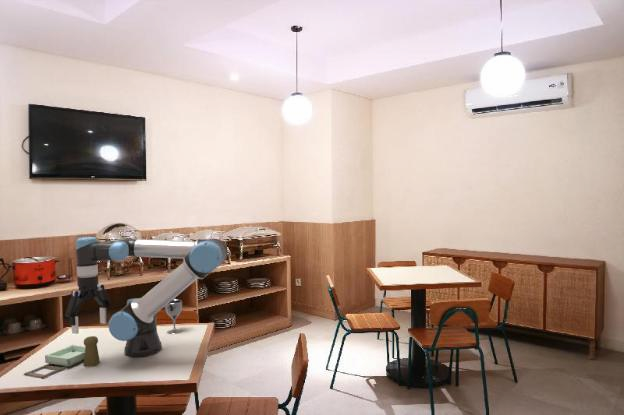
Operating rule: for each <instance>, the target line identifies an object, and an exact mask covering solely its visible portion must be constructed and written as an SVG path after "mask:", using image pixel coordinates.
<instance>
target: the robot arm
mask: <svg viewBox="0 0 624 415" xmlns="http://www.w3.org/2000/svg"><path fill="white" fill-rule="evenodd" d="M227 247H228V246H227V245H226V244H225V242H223V240H220V239H218V238H208V239H204V238H203V239H199V238H198V239H196V241H191V240H187V241H186V240H169V239H168V240H167V239H166V240H163V239H142V238H137V239H136V238H132V237H125V238H122V239H117V240H112V241H102V242H101V241H98V239H97V237H95V236H87V237H86V236H85V237H79V238H77V239H76V241H75V251H76V252H75V253H76V254H75V255H76V276H78V277H77V279H76V280H77V281H76V283H77V287H78V290H72V291H71V293H70V294H71V295H70V299H69V302H68V305H67V308H66V311H65V312H64V313H65V314H64V317H67V318H69V325H70V326H71V333H72V334H79V333H80V332H79V330H80V329H79V316H77V315H78V313H79V312H80V311H81V308H82V306H83V304H84V303H85V302H86V301H87V300H90V299H94V301H95V302H97V304H98V305H99V306H100V307H99V323H100V324H103V325H106V324H107V323H108V330H109V333H110V335H111V336H112V337H113V338H114V339H115V340H118V341H120V342H121V341H122V342H126V343H125V346H124V356H126V357H129V358H143V357H148V356H151V355H154V354H155V355H156V354H157V353H159V352H161V351H162V348H163V346H162V345H163V344H162V341H161V340H160V337H159V334H158V329H157V328H158V327H157V326H158V324H157V313H159V312H160V311H162V309H163V308H165V306H166V305H167V304H168V303H169V302H170V301H172V300H175V299H176V297H178V296H180V294H181V293H182V292H184V291H185V290H186V289H187V288H188V287H189V286H190V285H192V284H193V283H195V281H197V280H198V279H199V280H203V279H205V278H206V277H207V276H209V275H210V274H211V273H212V272H213V271H215V270H216V269H217V268H218V267H219V266H220V265H222V264H223V263H224V262H225V261H226V259H227V258H228V254H229V253H228V252H229V251H228V248H227ZM128 257H131V258H133V257H134V258H135V257H136V258H137V257H139V258H157V259H159V258H163V259H164V258H165V259H182V260H183V262H182V263H181V264H180V265H179V266H177V267H176V268H175V269H174V270H173V271H171V272H170V273H169V274H167V276H166V277H164V278H163V279H162V280H160V281H159V283H158V284H156V285H155V286H153V287H152V288H151V289H150V290H149V291H148V292H147V293H146V294H145V295H143V296H142V297H139V298H137V297H136V298H130V299H127V301H126V305H125V306H124V307H122V309H120V310H118V311H117V312H115V313H114V314H112V316H111V317H110V319H109V321H108V320H107V315H108V308H109V307H110V306H111V305H112V302H111V300H110V297H109V295H108V294H107V292H106V289H105V284H99V275H98V274H99V268H98V267H99V264H98V262H100V261H102V262H103V261H105V262H106V261H109V262H110V261H115V262H118V261H124V260H126V259H127V258H128ZM107 321H108V322H107Z"/></svg>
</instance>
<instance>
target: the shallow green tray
mask: <svg viewBox="0 0 624 415" xmlns="http://www.w3.org/2000/svg"><path fill="white" fill-rule="evenodd" d="M84 355H85V345H84V346H83V345H77V344H76V345H74V344H72V345H69V346H67V347H65V348H64V347H63V348H61V349H58V350H57V351H53V352H51V353H48V354H46V355H44V358H45V359H44V360H45V361H44V362H45V364H54V365H55V366H56V365H57V366H62V367H64V366H71V365H74V364H76V363H78V362H81V361H83V360H84ZM83 362H84V361H83ZM81 363H82V362H81ZM76 365H77V364H76ZM74 366H75V365H74ZM71 367H72V366H71Z"/></svg>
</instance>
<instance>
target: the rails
mask: <svg viewBox="0 0 624 415" xmlns="http://www.w3.org/2000/svg"><path fill="white" fill-rule="evenodd" d="M81 363H84V360H83V361H81V362H78V363H76V364H74V365H71V366H62V367H60V366H54V365H55V364H49V363H46V364H45V365H41V366H40V367H39V366H38V367H36V368H34V369H32V370H30V371H26V372H24V373H23V376H26V377H27V376H28V377H34V378H39V379H47V378H48V377H50V376H52V375H54V374H57V373H59V372H63V371H65V370H66V369H69V368H71V367H73V366H75V365H79V364H81ZM41 370H51V371H50V372H48V373H45V374H44V373H43V374H42V373H37V372H39V371H41Z"/></svg>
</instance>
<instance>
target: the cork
mask: <svg viewBox="0 0 624 415" xmlns="http://www.w3.org/2000/svg"><path fill="white" fill-rule="evenodd" d="M98 342H99V338H98V337H97V336H96V335H92V336H91V335H90V336H86V337H85V338H84V339H83V345H84V346H85V355H84V361H83V367H85V368H90V367H96V366H98V365H100V364H101V360H100V359H101V358H100V355H99V349H98Z"/></svg>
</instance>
